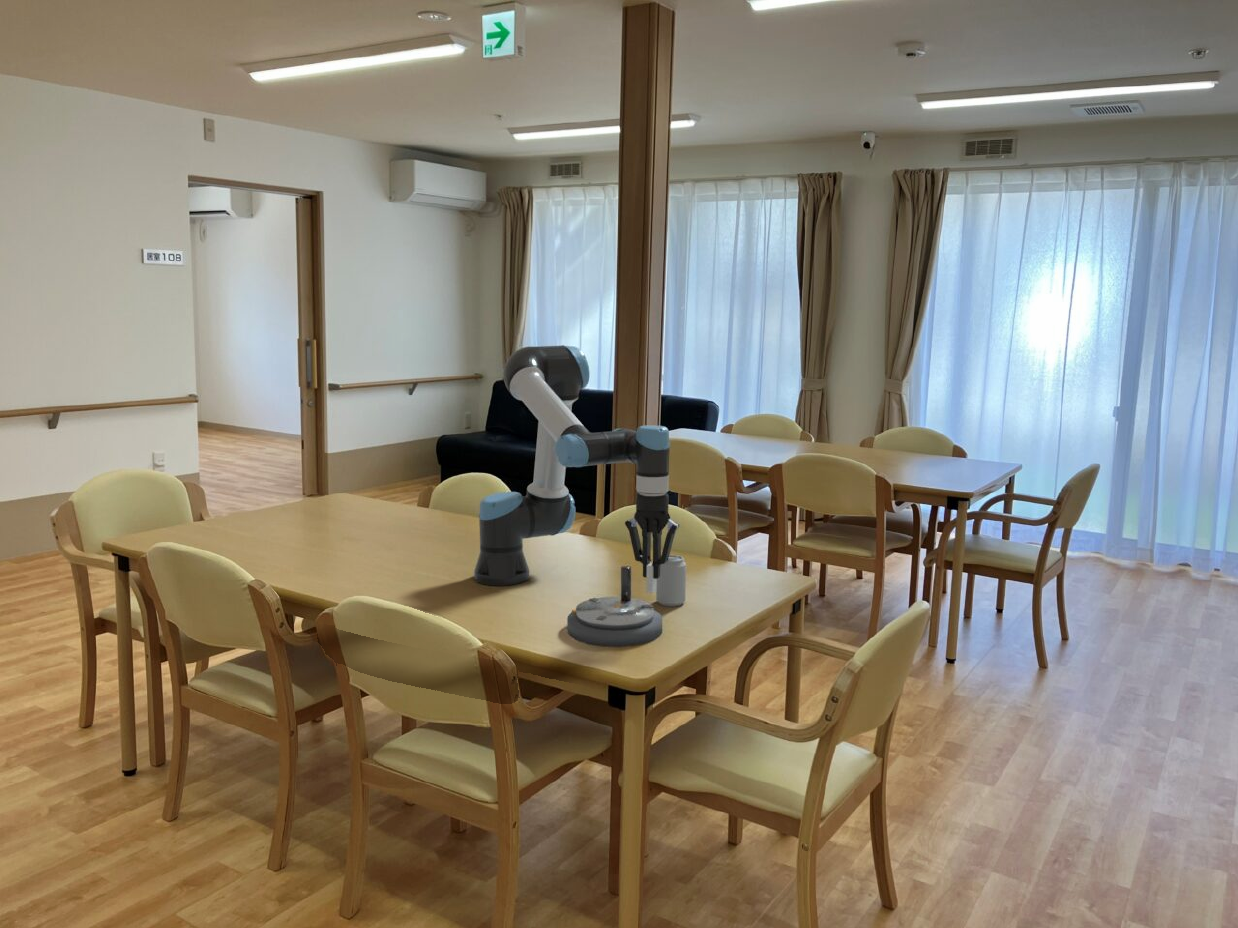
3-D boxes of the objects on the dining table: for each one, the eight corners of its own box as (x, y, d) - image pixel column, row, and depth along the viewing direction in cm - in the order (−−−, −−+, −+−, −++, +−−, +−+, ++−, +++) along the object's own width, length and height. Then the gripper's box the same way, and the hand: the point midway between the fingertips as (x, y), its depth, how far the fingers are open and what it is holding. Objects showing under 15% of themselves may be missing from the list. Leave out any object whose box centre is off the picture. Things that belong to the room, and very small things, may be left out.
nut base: (572, 648, 212) (572, 633, 212) (563, 617, 234) (563, 602, 233) (670, 644, 215) (670, 628, 215) (653, 613, 237) (653, 599, 236)
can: (654, 598, 249) (655, 553, 247) (683, 598, 250) (684, 553, 248) (658, 607, 242) (658, 561, 240) (687, 607, 242) (688, 560, 240)
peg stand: (580, 630, 214) (580, 587, 212) (572, 606, 232) (572, 565, 230) (660, 627, 217) (660, 584, 215) (646, 603, 234) (646, 563, 233)
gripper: (684, 492, 225) (682, 589, 229) (631, 487, 229) (631, 583, 233) (674, 497, 218) (672, 598, 222) (620, 493, 223) (619, 592, 226)
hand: (651, 590), depth 228 cm, fingers closed
